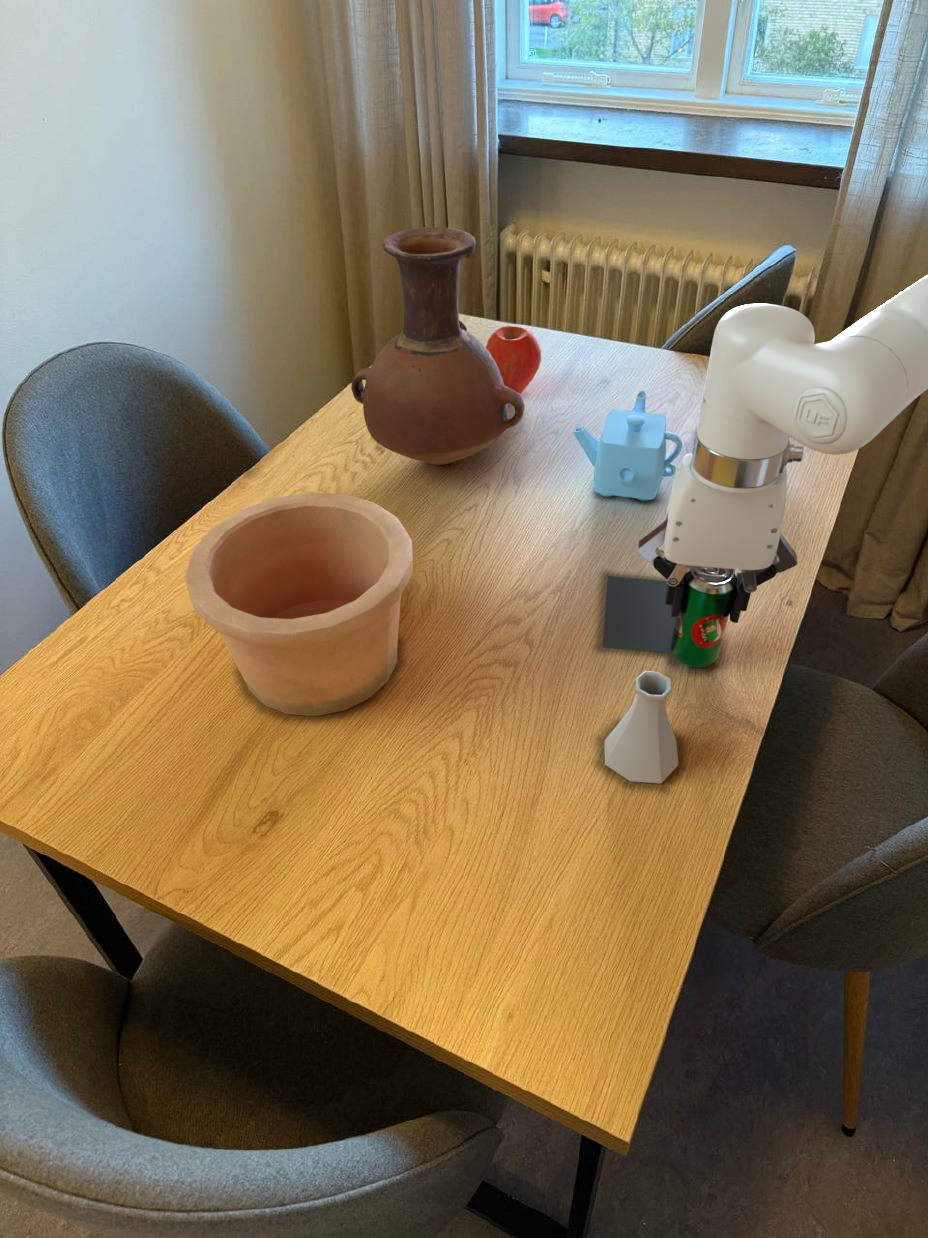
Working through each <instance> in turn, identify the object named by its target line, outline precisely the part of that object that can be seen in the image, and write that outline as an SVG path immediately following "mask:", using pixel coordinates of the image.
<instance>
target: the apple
mask: <svg viewBox="0 0 928 1238" xmlns="http://www.w3.org/2000/svg"><path fill="white" fill-rule="evenodd" d="M485 348H486V349H487V350H488V351H489V353H490V354H491V355H492V357H493V359H494V360H495V363H496V365H497V367H498V369H499V372H500V374H501V377H502V379H503V383H504V386H506V387H508V388H511V389H513V390H514V391H516V392H517V393H519V395H521V394H522V393H523V392H524V391H525V390H526V388H527V387H528V386H529V384H530V383H531V382H532V381H533V379H534V377H535V376H536V374H537V372H538V370H539V369H540V366H541V362H542V349H541V347H540V344H539V341H538V339H537V338H536V336H535V335H534V334H533V333H532V332H531V331H529V330H528V329H526V328H523V327H521V326H512V325H507V326H501V327H499V328H498V329H496V330H495V331H494V332H492V333H491V335H490V337H489V338H488V340H487V343H486V347H485Z"/></svg>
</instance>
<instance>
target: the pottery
mask: <svg viewBox="0 0 928 1238" xmlns="http://www.w3.org/2000/svg"><path fill="white" fill-rule="evenodd" d="M412 541H413V540H412V538H411V537H410V535H409V533H408V532H407V530H406V529H405V527H404V526H403V524H402V522H401V521H400V519H399V517H397V516H396V515H394V514H392V513H391V512H390V511H388V510H386V509H385V508H384V507H382V506H381V505H379V504H377V503H376V502H373V501H370V500H367V499H363V498H359V497H356V496H353V495H349V494H346V493H332V492H331V493H329V492H304V493H303V492H302V493H296V494H290V495H289V494H288V495H284V496H277V497H272V498H270V499H267V500H265V501H261V502H258V503H256V504H253V505H250V506H246V507H244V508H242V509H239V510H238V511H236V512H234V513H233V514H232V515H230V516H228V517H227V518H225V519H224V520H222V521H221V522H219V523H217V524H216V525H215V526H213V527H211V528H210V529H209V530H208V531H207V533H206V534H205V535H204V537H203V538H201V540H200V541H199V542H198V544H196V545H195V547H194V548H193V549H192V550H191V554H190V557H189V561H188V564H187V568H186V571H185V574H184V580H185V584H186V587H187V591H188V594H189V598H190V602H191V605H192V607H193V610H194V612H195V613H196V614H197V615H198V616H199V617H200V618H202V620H204V621H205V623H207V624H208V625H209V626H210V627H211V628H212V629H213V630H214V631H215V632H216V633H218V634H219V636H220V637H221V639H222V641H223V643H224V645H225V647H226V649H227V651H228V652H229V654H230V656H231V658H232V660H233V662H234V664H235V665H236V667H237V669H238V671H239V673H240V675H241V677H242V678H243V680H244V682H245V684H246V686H247V689H248V691H249V692H250V693H251V694H252V695H254V697H255V698H256V699H257V700H258V701H259V702H261V703H262V705H264V706H266V707H269V708H271V709H274V710H275V711H278V712H281V713H284V714H286V715H293V716H295V715H296V716H308V717H317V716H323V715H327V714H328V715H329V714H332V713H338V712H344V711H346V710H348V709H350V708H352V707H354V706H356V705H358V704H360V703H363V702H364V701H367V700H368V699H370V698H371V697H372V696H374V695H375V694H376V693H377V692H378V691H379V690H380V689H381V688H382V687H383V686H385V684H386V683H388V682H389V679H390V677H391V675H392V673H393V671H394V670H395V667H396V665H397V663H398V644H399V643H398V641H399V628H400V615H401V613H400V612H401V601H402V600H401V599H402V595H403V593H404V591H405V589H406V586H407V585H408V583H409V582H410V581H411V577H412V576H413V574H414V571H413V570H414V568H413V567H414V566H413V565H414V564H413V561H414V560H413V542H412Z"/></svg>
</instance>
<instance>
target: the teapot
mask: <svg viewBox="0 0 928 1238" xmlns="http://www.w3.org/2000/svg"><path fill="white" fill-rule="evenodd" d="M646 399H647V393H646V392H645V391H644V390H641V391H639V392H638V393H637V395H636V400H635V403H634V407H633V410H620V409H611V410H610V411H609V412H608V414H607V416H606V419H605V421H604V424H603V428H602V430H601V431H602V432H601V434H600V438H599V440H597V439H596V438H595V437H594V436H593V435H592V434H591V433H590V432H589V431H587V429H585V427H584V426H581V427H574V428H573V430H572V433H573V435H574V437H575V439H576V440H577V442H578V443H579V445H580V446H581V449H582V450H583V452H584V453H585V455H586V457H587V458H588V460H589V461H590V463H591V465H592V466H593V467H594V470H593V471H594V472H593V486H594V491H595V492H596V493H597V494H600V495H601V496H603V497H612V496H615V497H623V498H632V499H637V500H639V501H641V502H648V501H650V500H654V499H655V498H656V497H657V495H658V492H659V489H660V487H661V483H662V480H663V477H666V478H669V477H672V476H674V475H675V473H676V466H675V464H673V462H674V461H675V459H676V458H677V457H678V456H679V455H680V453H681V451H682V448H683V442H682V439H681V438H680V437H679V436H678V434H676V433H674V432H670V431H667V417H666V416H665V415H664V414H659V413H650V412H646ZM667 440H668V441H671V442H673V443H674V444H675V445H676V446H675V448H674V449H673V451H672V452H671V453H670V455H669V456H668V457H667ZM668 469H669V470H668Z"/></svg>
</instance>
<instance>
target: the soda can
mask: <svg viewBox="0 0 928 1238" xmlns="http://www.w3.org/2000/svg"><path fill="white" fill-rule="evenodd" d="M736 576H737V574H736V569H728V568H715V567H703V566H692V565H690V567H689V569H688V570H687V572H686V574H685V575H684V577H683V581H684V591H683V597H682V602H681V607H680V612H679V616H677V617H676V620H675V625H674V630H673V636H672V641H671V651H672V654H671V655H672V656H673V657H674V658H675V659H676V660H677V661H678V662H680V663H681V664H683V665H684V666H686V667H690V668H704V667H707V666H710V665H713V664H714V663H716V661H717V660H718V658H719V656H720V652H721V648H722V645H723V641H724V636H725V632H726V628H727V624H728V621H729V618H730V615H729V613H730V609H731V605H732V601H733V597H734V593H735V589H736V585H737V577H736Z"/></svg>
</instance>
